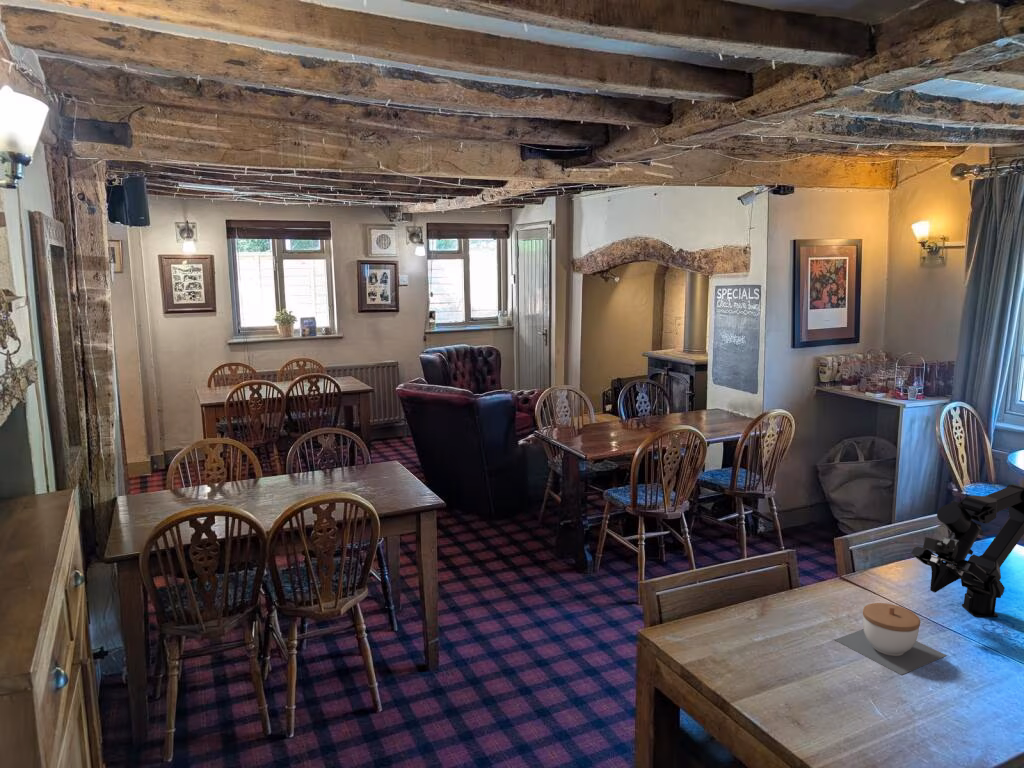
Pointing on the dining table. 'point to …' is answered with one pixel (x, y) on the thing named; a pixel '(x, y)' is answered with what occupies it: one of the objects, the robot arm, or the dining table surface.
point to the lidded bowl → (890, 628)
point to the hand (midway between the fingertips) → (932, 591)
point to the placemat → (898, 664)
